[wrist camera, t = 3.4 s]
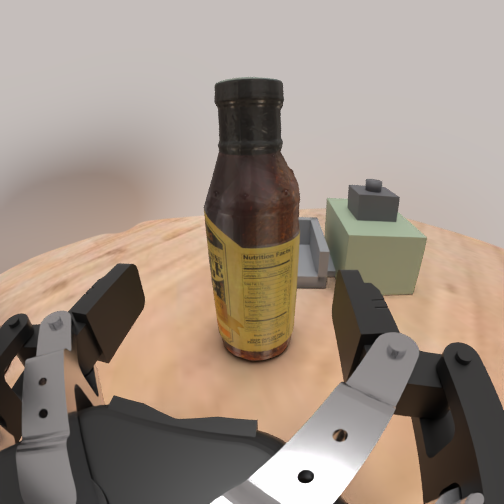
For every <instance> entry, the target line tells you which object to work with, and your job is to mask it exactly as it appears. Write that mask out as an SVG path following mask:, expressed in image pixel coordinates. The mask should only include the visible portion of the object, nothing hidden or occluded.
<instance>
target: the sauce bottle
mask: <svg viewBox="0 0 504 504" xmlns="http://www.w3.org/2000/svg"><path fill="white" fill-rule="evenodd" d="M283 101H284V97H283V83H282V82H281V81H280V80H277V79H270V78H257V77H244V78H234V79H227V80H223V81H220V82H218V83H216V84H215V104H216V106H217V107H218V116H219V137H220V141H219V144H218V147H219V154H218V158H217V161H216V165H215V169H214V173H213V177H212V180H211V184H210V187H209V191H208V194H207V198H206V202H205V205H204V213H205V225H206V234H207V243H208V254H209V262H210V270H211V277H212V285H213V293H214V300H215V307H216V314H217V321H218V328H219V332H220V335H221V336H222V339H223V342H224V344H225V346H226V348H227V349H228V350H229V351H230V353H232V354H233V355H235V356H238V357H241V358H244V359H247V360H266V359H269V358H273V357H274V356H277V355H279V354H281V353H282V352H283V351H284V349H285V348H286V347H287V346H288V343H289V341H290V338H291V334H292V331H293V326H294V315H295V304H296V291H297V276H298V260H299V241H300V229H299V202H300V193H299V187H298V183H297V180H296V178H295V176H294V173H293V170H292V169H290V168H289V167H288V166H287V163H286V161H285V159H284V157H283V156H282V154H281V152H280V151H281V148H282V144H283V141H282V139H281V120H280V115H281V113H280V110H281V108H282V106H283Z"/></svg>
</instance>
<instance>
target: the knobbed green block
mask: <svg viewBox="0 0 504 504" xmlns="http://www.w3.org/2000/svg"><path fill="white" fill-rule="evenodd" d="M398 206H399V197H398V196H397V195H395V194H394V193H392V192H391V191H390V190H388V189H387V188H385V187H382V181H379V180H374V179H366V186H359V185H349V192H348V199H336V198H327V207H326V222H325V236H324V235H323V232H322V229H321V227H320V224H319V221H318V219H317V218H306V217H299V229H300V241H299V260H298V276H297V288H326V280H327V277H335V279H336V277H337V272H338V270H358V271H359V273H360V275H361V277H362V279H363V281H364V283H372V284H373V285H374V286H375V287H376V288H378V289H379V290H380V292H381V294H382V295H401V294H413V292H414V288H415V285H416V281H417V278H418V274H419V270H420V266H421V262H422V258H423V254H424V250H425V245H426V240H427V237H426V236H425V235H423V234H422V233H421V232H420V231H419V230H418V229H417V228H416V227H415V226H413V225H412V224H411V223H410V222H409V221H408V220H407V219H405V218H404V217H403V216H402V215H401V214H400V213H398Z"/></svg>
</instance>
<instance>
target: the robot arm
mask: <svg viewBox="0 0 504 504" xmlns="http://www.w3.org/2000/svg"><path fill="white" fill-rule="evenodd" d="M144 304H145V296H144V292H143V289H142V285H141V281H140V277H139V273H138V269H137V267H136V265H134V264H120V263H119V264H117V265H116V266H115V267H114V268H113V269H112V270H111V271H110V272H109V273H108V274H107V275H106V276H104V277H102V278H101V279H99V280H98V281H97V282H96V283H95V284H94V285H93V286H92V288H90V289H89V290H88V291H87V292H86V294H84V295H83V296H82V297H81V298H80V299H79V301H78V302H77V303H76V304H75V305H74V306H73V307H72V308H71V309H70V310H69V311H68V312H67V311H57V312H54V313H52V314H50V315H48V316H47V317H46V318H44V320H43V321H42V322H41V324H38V325H32V324H31V322H30V320H29V318H28V316H27V315H26V314H17V315H14V316H12V317H11V318H9V319H8V320H7V321H6V322H5V323H4V324H3V325H2V327H1V326H0V504H348V503H347V502H346V501H345V500H343V499H342V498H341V497H340V496H339V495H340V494H341V493H342V492H343V490H344V489H345V488H346V486H347V485H348V484H349V483H350V481H351V480H352V479H353V477H354V476H355V474H356V473H357V472H358V470H359V469H360V467H361V466H362V465H363V463H364V462H365V460H366V459H367V457H368V456H369V454H370V453H371V451H372V449H373V448H374V446H375V445H376V443H377V441H378V440H379V438H380V437H381V435H382V433H383V431H384V430H385V428H386V426H387V424H388V423H389V421H390V419H391V417H392V415H393V414H395V415H402V416H410V417H411V418H412V423H413V428H414V434H415V439H416V445H417V451H418V457H419V464H420V472H421V480H422V490H423V502H424V504H504V410H503V407H502V405H501V402H500V400H499V397H498V395H497V393H496V390H495V388H494V386H493V384H492V381H491V379H490V377H489V375H488V373H487V371H486V369H485V367H484V364H483V362H482V360H481V358H480V357H479V355H478V353H477V352H476V351H475V350H474V349H473V348H472V347H470V346H469V345H467V344H464V343H459V342H456V343H451V344H449V345H448V346H447V347H446V348H445V350H444V352H443V353H442V354H435V353H428V352H423V351H419V348H418V346H417V344H416V343H415V342H414V340H412V339H411V338H410V337H408V336H406V335H404V334H401V333H400V332H399V330H398V328H397V325H396V323H395V321H394V319H393V317H392V315H391V312H390V310H389V308H388V306H387V304H386V302H385V301H384V298H383V296H382V294H381V292H380V290H379V289H378V288H376V287H375V286H374V285H373V284H372V283H364V281H363V279H362V277H361V275H360V273H359V271H358V270H338V272H337V277H336V284H335V291H334V298H333V304H332V319H333V325H334V330H335V335H336V340H337V345H338V350H339V356H340V361H341V367H342V373H343V379H344V382H341V383H340V384H339V385H338V386H337V387H336V388H335V389H334V391H333V392H332V393H331V394H330V396H329V397H328V398H327V399H326V400H325V402H324V403H323V404H322V405H321V406H320V407H319V409H318V410H317V411H316V412H315V413H314V414H313V416H312V417H311V418H310V419H309V420H308V421H307V422H306V423H305V424H304V425H303V427H302V428H301V429H300V430H299V431H298V432H297V433H296V434H295V435H294V436H293V437H292V438H291V439H290V440H289V441H288V442H287V443H286V442H284V441H283V440H281V439H279V438H277V437H275V436H273V435H270V434H268V433H265V432H262V431H258V422H257V420H246V419H234V418H224V417H208V418H193V419H175V418H172V417H170V416H168V415H166V414H164V413H162V412H160V411H157V410H155V409H153V408H151V407H149V406H148V405H146V404H144V403H140V402H136V401H132V400H128V399H124V398H121V397H117V396H113V398H112V400H111V402H110V404H109V405H105V403H104V399H103V394H102V389H101V384H100V379H99V374H98V369H97V367H96V365H95V363H96V361H97V360H98V361H102V362H106V363H109V362H110V361H111V359H112V357H113V356H114V354H115V352H116V351H117V349H118V348H119V346H120V344H121V343H122V341H123V340H124V338H125V337H126V335H127V333H128V332H129V330H130V329H131V327H132V326H133V324H134V323H135V321H136V319H137V318H138V316H139V315H140V313H141V312H142V310H143V308H144ZM16 355H17V356H18V358H19V359H20V361H21V362H22V364H23V365H24V367H25V369H24V371H23V372H22V374H21V375H20V377H19V378H18V380H17V381H16V383H15V384H14V386H13V387H12V389H11V388H10V386H9V385H8V384H7V383H6V381H5V378H4V373H5V371H6V369H7V367H8V365H9V364H10V363H11V361H12V360H13V359H14V357H15V356H16ZM21 436H22V441H20V442H19V440H20V438H21Z"/></svg>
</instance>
